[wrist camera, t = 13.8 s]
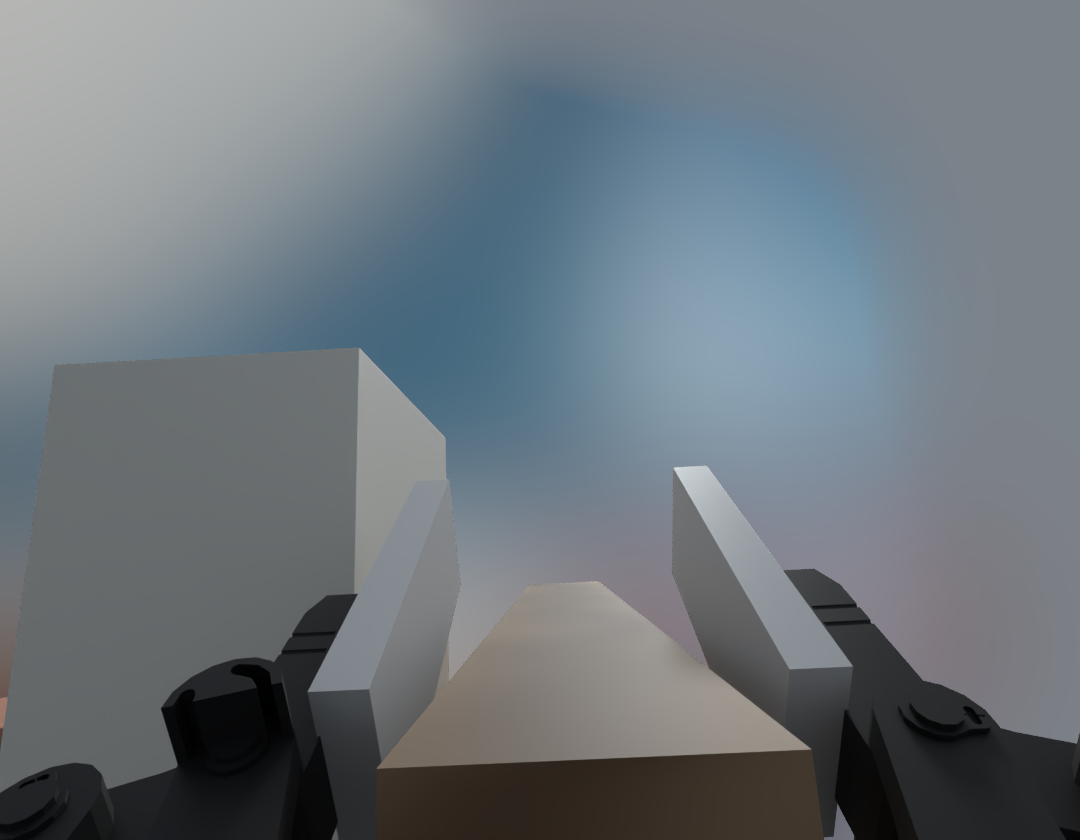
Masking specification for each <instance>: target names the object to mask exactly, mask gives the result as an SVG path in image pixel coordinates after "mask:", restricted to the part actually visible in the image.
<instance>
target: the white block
mask: <svg viewBox="0 0 1080 840" xmlns="http://www.w3.org/2000/svg"><path fill="white" fill-rule="evenodd" d="M445 444H446V443H445V437H444V436H443V435H442V434H441V433H440V432H439V431H438V430H437V429H436V427H435V426H433V424H432V423H431V422H430V421H429V420H428V419H427V418H426V417H425V416H424V415H423V414H422V413H421V412H420V411H419V410H418V409H417V408H416V407H415V406H414V405H413V403H412V402H410V400H409V399H408V398H407V397H406V396H405V395H404V394H403V393H402V392H401V391H400V390H399V389H398V388H397V387H396V386H395V385H394V384H393V383H392V382H391V380H390V379H389V378H388V377H387V376H386V375H385V374H384V373H383V372H382V371H381V370H380V369H379V368H378V367H377V366H376V365H375V364H374V363H373V362H372V361H371V360H370V359H369V357H368V356H367V355H366V354H365V353H364V352H363V351H362V350H361V349H360V348H343V349H326V350H310V351H292V352H274V353H259V354H258V353H257V354H241V355H223V356H206V357H188V358H171V359H155V360H136V361H119V362H103V363H85V364H67V365H55V366H54V373H53V380H52V388H51V394H50V402H49V409H48V416H47V423H46V430H45V437H44V444H43V451H42V459H41V465H40V473H39V479H38V486H37V493H36V501H35V508H34V515H33V522H32V529H31V536H30V543H29V551H28V557H27V565H26V571H25V579H24V585H23V592H22V600H21V607H20V614H19V621H18V628H17V635H16V642H15V649H14V657H13V663H12V670H11V677H10V685H9V692H8V699H7V706H6V713H5V720H4V727H3V734H2V741H1V748H0V793H1V792H2V791H4V790H6V789H7V788H9V787H10V786H12V785H14V784H15V783H17V782H19V781H20V780H22V779H24V778H26V777H28V776H31V775H33V774H36V773H38V772H40V771H43V770H45V769H48V768H50V767H55V766H60V765H65V764H70V763H82V764H90V765H93V766H94V767H95V768H96V769H97V770H98V771H99V772H100V773H101V774H102V776H103V779H104V782H105V785H106V788H107V789H110V788H113V787H116V786H120V785H123V784H126V783H130V782H133V781H137V780H140V779H143V778H147V777H150V776H154V775H157V774H160V773H163V772H166V771H168V770H171V769H174V768H176V767H177V765H178V764H177V761H176V757H175V754H174V751H173V748H172V744H171V741H170V738H169V734H168V731H167V728H166V724H165V721H164V718H163V714H162V711H161V707H162V706H163V704H164V703H165V702H166V700H167V699H168V698H169V696H170V695H171V693H172V692H173V691H174V690H176V689H177V688H178V687H179V686H181V685H182V684H183V683H184V682H186V681H187V680H188V679H189V678H191V677H192V676H194V675H196V674H198V673H200V672H202V671H204V670H206V669H208V668H210V667H212V666H214V665H217V664H221V663H224V662H227V661H230V660H234V659H240V658H252V657H257V658H262V659H266V660H271V661H273V662H275V660H276V658H277V657H278V655H281V653H282V651H281V650H282V649H283V647H284V646H285V644H286V642H287V641H288V639H289V638H290V637H292V633H293V631H294V630H295V628H296V627H297V625H298V623H299V622H300V620H301V619H302V617H303V615H304V614H305V613H306V612H307V611H308V610H309V609H311V608H312V607H313V606H314V605H316V604H317V603H318V602H319V601H321V600H322V599H323V598H324V597H326V596H327V595H342V594H358V593H359V591H360V589H361V587H362V585H363V583H364V581H365V579H366V577H367V575H368V574H369V572H370V570H371V568H372V566H373V564H374V562H375V560H376V558H377V556H378V554H379V552H380V550H381V548H382V546H383V544H384V542H385V541H386V539H387V537H388V535H389V533H390V531H391V529H392V527H393V525H394V523H395V521H396V519H397V517H398V515H399V513H400V511H401V509H402V508H403V506H404V504H405V502H406V500H407V498H408V496H409V494H410V492H411V490H412V488H413V486H414V484H415V482H416V481H432V480H446V445H445ZM448 662H449V658H448V641H447V645H446V650H445V654H444V658H443V662H442V667H441V671H440V675H439V680H438V684H437V688H436V693H435V697H434V699H435V698H436V697H437V695H438V694H439V693H440V692H441V691H442V689H443V688H444V687H445V686H446V685H447V683H448V682H449V663H448ZM332 840H339V839H338V835H337V830H336V829H335V832H334V835H333V837H332Z"/></svg>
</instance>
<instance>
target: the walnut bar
mask: <svg viewBox="0 0 1080 840" xmlns="http://www.w3.org/2000/svg"><path fill="white" fill-rule="evenodd" d="M376 840H824V836H823V829H822V821H821V814H820V806H819V799H818V792H817V784H816V777H815V770H814V762H813V755H812V749H811V748H809V747H808V746H807V745H806V744H804V743H803V742H802V741H800V740H799V739H798V738H797V737H795V736H794V735H793V734H792V733H790V732H789V731H788V730H786V729H785V728H784V727H783V726H781V725H780V724H779V723H778V722H776V721H775V720H774V719H773V718H771V717H770V716H769V715H767V714H766V713H765V712H764V711H762V710H761V709H760V708H759V707H757V706H756V705H755V704H753V703H752V702H751V701H750V700H748V699H747V698H746V697H745V696H743V695H742V694H741V693H740V692H738V691H737V690H736V689H734V688H733V687H732V686H731V685H729V684H728V683H727V682H726V681H724V680H723V679H722V678H720V677H719V676H718V675H717V674H715V673H714V672H713V671H712V670H710V669H709V668H708V667H706V666H705V665H704V664H703V663H701V662H700V661H699V660H698V659H696V658H695V657H694V656H693V655H691V654H690V653H689V652H687V651H686V650H685V649H684V648H682V647H681V646H680V645H679V644H677V643H676V642H675V641H673V640H672V639H671V638H670V637H668V636H667V635H666V634H664V633H663V632H662V631H661V630H659V629H658V628H657V627H656V626H654V625H653V624H652V623H651V622H649V621H648V620H647V619H646V618H644V617H643V616H642V615H641V614H639V613H638V612H637V611H635V610H634V609H633V608H632V607H630V606H629V605H628V604H626V603H625V602H624V601H622V600H621V599H620V598H619V597H618V596H616V595H615V594H614V593H612V592H611V591H610V590H609V589H608V588H606V587H605V586H604V585H602V584H601V583H600V582H596V581H595V582H577V583H576V582H575V583H555V584H537V585H536V584H535V585H529V586H528V587H527V589H526V590H525V591H524V592H523V594H522V595H521V596H520V597H519V598H518V599H517V601H516V602H515V603H514V604H513V605H512V607H511V608H510V609H509V610H508V611H507V613H506V614H505V615H504V616H503V617H502V619H501V620H500V621H499V622H498V623H497V625H496V626H495V627H494V628H493V629H492V631H491V632H490V633H489V634H488V635H487V637H486V638H485V639H484V640H483V641H482V643H481V644H480V645H479V646H478V647H477V649H476V650H475V651H474V652H473V653H472V655H471V656H470V657H469V658H468V659H467V661H466V662H465V663H464V664H463V665H462V667H461V668H460V669H459V670H458V671H457V673H456V674H455V675H454V676H453V677H452V679H451V680H450V681H449V682H448V683H447V685H446V686H445V687H444V688H443V689H442V691H441V692H440V693H439V694H438V695H437V697H436V698H435V699H434V700H433V701H432V703H431V704H430V705H429V706H428V707H427V709H426V710H425V711H424V712H423V713H422V714H421V716H420V717H419V718H418V719H417V720H416V722H415V723H414V724H413V725H412V726H411V728H410V729H409V730H408V731H407V732H406V734H405V735H404V736H403V737H402V738H401V740H400V741H399V742H398V743H397V744H396V746H395V747H394V748H393V749H392V750H391V752H390V753H389V754H388V755H387V756H386V758H385V759H384V760H383V761H382V762H381V764H380V765H379V766H378V767H377V768H376Z"/></svg>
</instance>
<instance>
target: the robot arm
mask: <svg viewBox="0 0 1080 840" xmlns="http://www.w3.org/2000/svg"><path fill="white" fill-rule="evenodd" d="M672 561H673V563H672V565H673V566H672V568H673V569H672V570H673V571H672V573H673V576H674V579H675V582H676V584H677V587H678V589H679V592H680V594H681V597H682V599H683V602H684V605H685V607H686V610H687V612H688V615H689V617H690V620H691V622H692V625H693V627H694V630H695V633H696V635H697V638H698V640H699V643H700V645H701V648H702V651H703V653H704V656H705V658H706V660H707V663H708V666H709V668H710V670H712V671H713V672H714V673H715V674H717V675H718V676H719V677H720V678H722V679H723V680H724V681H726V682H727V683H728V684H729V685H731V686H732V687H733V688H734V689H736V690H737V691H738V692H740V693H741V694H742V695H743V696H745V697H746V698H747V699H748V700H750V701H751V702H752V703H753V704H755V705H756V706H757V707H759V708H760V709H761V710H762V711H764V712H765V713H766V714H767V715H769V716H770V717H771V718H773V719H774V720H775V721H776V722H778V723H779V724H780V725H781V726H783V727H784V728H785V729H786V730H788V731H789V732H790V733H792V734H793V735H794V736H795V737H797V738H798V739H799V740H800V741H802V742H803V743H804V744H806V745H807V746H808V747H809V748H811V749H812V755H813V762H814V770H815V777H816V784H817V792H818V799H819V806H820V814H821V821H822V829H823V836H824V837H833V836H834V827H835V818H836V810H837V803H838V805H839V807H840V809H841V811H842V813H843V815H844V817H845V819H846V821H847V822H848V824H849V826H850V828H851V830H852V832H853V834H854V840H1080V735H1079V738H1078V742H1077V744H1075V743H1070V742H1065V741H1059V740H1053V739H1048V738H1043V737H1038V736H1032V735H1028V734H1022V733H1017V732H1013V731H1009V730H1005V729H1001V728H1000V727H999V726H998V724H997V723H996V722H995V721H994V720H993V719H992V717H991V716H990V715H989V714H988V713H987V712H986V710H984V709H983V708H982V707H980V706H979V705H977V704H976V703H974V702H973V701H971V700H970V699H969V698H967V697H966V696H965V695H962V694H960V693H958V692H955V691H953V690H951V689H949V688H947V687H944V686H942V685H939V684H935V683H930V682H926V681H923V680H922V679H921V678H920V677H919V676H918V674H917V673H916V672H915V671H914V670H913V669H912V667H911V666H910V665H909V664H908V663H907V662H906V660H905V659H904V658H903V657H902V656H901V655H900V653H899V652H898V651H897V650H896V649H895V648H894V647H893V645H892V644H891V643H890V642H889V641H888V640H887V639H886V637H885V636H884V635H883V634H882V633H881V632H880V630H879V629H878V628H877V627H876V626H875V625H874V624H871V622H870V619H869V618H868V617H867V615H866V614H865V613H864V612H863V611H862V609H861V608H857V605H856V603H855V601H854V600H853V599H852V598H851V597H850V596H849V594H848V593H847V592H846V591H845V590H844V589H843V587H842V586H841V585H840V584H838V583H836V582H835V581H833V580H832V579H830V578H828V577H827V576H825V575H823V574H822V573H820V572H819V571H817V570H815V569H801V570H782V568H781V567H780V565H779V564H778V563H777V561H776V560H775V559H774V557H773V556H772V554H771V553H770V552H769V550H768V549H767V548H766V546H765V545H764V544H763V542H762V541H761V539H760V538H759V537H758V535H757V534H756V533H755V531H754V530H753V528H752V527H751V526H750V524H749V523H748V522H747V520H746V519H745V518H744V516H743V515H742V513H741V512H740V511H739V509H738V508H737V506H736V505H735V504H734V502H733V501H732V500H731V498H730V497H729V496H728V494H727V493H726V492H725V490H724V489H723V487H722V486H721V485H720V483H719V482H718V481H717V479H716V478H715V476H714V475H713V474H712V472H711V471H710V469H709V468H708V467H707V466H694V467H675V468H673V559H672ZM460 585H461V582H460V574H459V565H458V556H457V547H456V538H455V529H454V520H453V512H452V503H451V493H450V484H449V480H432V481H416V482H415V484H414V486H413V488H412V490H411V492H410V494H409V496H408V498H407V500H406V502H405V504H404V506H403V508H402V509H401V511H400V513H399V515H398V517H397V519H396V521H395V523H394V525H393V527H392V529H391V531H390V533H389V535H388V537H387V539H386V541H385V542H384V544H383V546H382V548H381V550H380V552H379V554H378V556H377V558H376V560H375V562H374V564H373V566H372V568H371V570H370V572H369V574H368V575H367V577H366V579H365V581H364V583H363V585H362V587H361V589H360V591H359V593H358V594H342V595H327V596H326V597H324V598H323V599H322V600H321V601H319V602H318V603H317V604H316V605H314V606H313V607H312V608H311V609H309V610H308V611H307V612H306V613H305V614H304V615H303V617H302V619H301V620H300V622H299V623H298V625H297V627H296V628H295V630H294V631H293V633H292V637H290V638H289V639H288V641H287V642H286V644H285V646H284V647H283V649H282V650H281V651H282V653H281V655H278V657H277V658H276V660H275V662H273V661H271V660H266V659H262V658H257V657H252V658H240V659H234V660H230V661H227V662H224V663H221V664H217V665H214V666H212V667H210V668H208V669H206V670H204V671H202V672H200V673H198V674H196V675H194V676H192V677H191V678H189V679H188V680H187V681H186V682H184V683H183V684H182V685H181V686H179V687H178V688H177V689H176V690H174V691H173V692H172V693H171V695H170V696H169V698H168V699H167V700H166V702H165V703H164V704H163V706H162V707H161V711H162V714H163V718H164V721H165V724H166V728H167V731H168V734H169V738H170V741H171V744H172V748H173V751H174V754H175V757H176V761H177V764H178V765H177V767H176V768H174V769H171V770H168V771H166V772H163V773H160V774H157V775H154V776H150V777H147V778H143V779H140V780H137V781H133V782H130V783H126V784H123V785H120V786H116V787H113V788H110V789H107V788H106V785H105V782H104V779H103V776H102V774H101V773H100V772H99V771H98V770H97V769H96V768H95V767H94V766H93V765H90V764H82V763H70V764H65V765H60V766H55V767H50V768H48V769H45V770H43V771H40V772H38V773H36V774H33V775H31V776H28V777H26V778H24V779H22V780H20V781H19V782H17V783H15V784H14V785H12V786H10V787H9V788H7V789H6V790H4V791H2V792H1V793H0V840H332V837H333V835H334V832H335V829H336V830H337V835H338V839H339V840H376V768H377V767H378V766H379V765H380V764H381V762H382V761H383V760H384V759H385V758H386V756H387V755H388V754H389V753H390V752H391V750H392V749H393V748H394V747H395V746H396V744H397V743H398V742H399V741H400V740H401V738H402V737H403V736H404V735H405V734H406V732H407V731H408V730H409V729H410V728H411V726H412V725H413V724H414V723H415V722H416V720H417V719H418V718H419V717H420V716H421V714H422V713H423V712H424V711H425V710H426V709H427V707H428V706H429V705H430V704H431V703H432V701H433V700H434V697H435V693H436V688H437V684H438V680H439V675H440V671H441V667H442V662H443V658H444V654H445V650H446V645H447V641H448V636H449V632H450V628H451V624H452V619H453V615H454V611H455V607H456V602H457V598H458V593H459V589H460Z"/></svg>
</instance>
